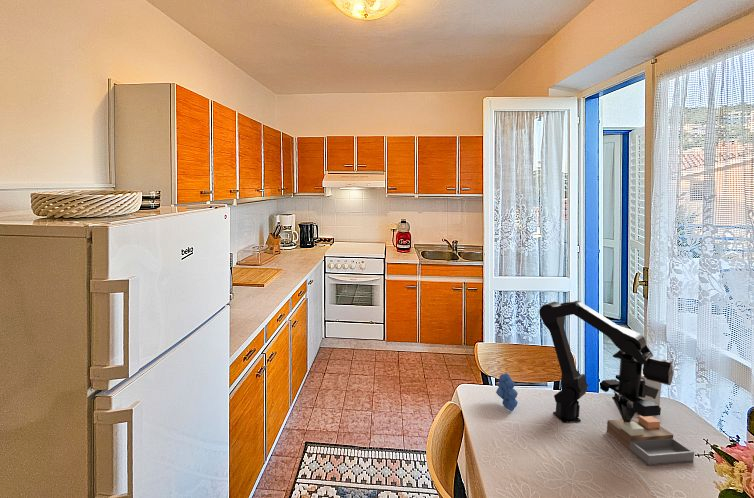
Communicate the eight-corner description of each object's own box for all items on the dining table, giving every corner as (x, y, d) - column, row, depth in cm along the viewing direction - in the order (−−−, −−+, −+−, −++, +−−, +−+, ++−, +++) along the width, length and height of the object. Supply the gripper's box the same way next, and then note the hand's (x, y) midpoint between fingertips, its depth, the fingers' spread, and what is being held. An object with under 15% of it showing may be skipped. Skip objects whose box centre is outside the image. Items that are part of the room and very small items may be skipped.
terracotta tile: (647, 428, 129) (648, 422, 129) (638, 421, 133) (638, 415, 132) (659, 427, 129) (660, 421, 129) (649, 421, 133) (650, 415, 133)
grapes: (488, 400, 154) (489, 369, 153) (505, 399, 156) (507, 368, 154) (502, 416, 143) (504, 382, 142) (521, 415, 144) (523, 381, 143)
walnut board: (629, 450, 124) (630, 437, 124) (606, 432, 134) (607, 420, 133) (672, 447, 126) (673, 434, 125) (646, 429, 136) (647, 417, 135)
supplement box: (659, 412, 147) (662, 377, 145) (636, 410, 148) (639, 375, 147) (650, 402, 154) (653, 369, 152) (628, 400, 155) (630, 367, 154)
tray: (648, 466, 117) (649, 455, 117) (629, 450, 124) (630, 441, 124) (693, 462, 119) (694, 452, 118) (672, 447, 126) (673, 437, 126)
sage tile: (631, 435, 125) (631, 429, 124) (621, 428, 129) (622, 422, 128) (643, 434, 125) (643, 428, 125) (633, 427, 129) (633, 421, 129)
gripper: (680, 386, 120) (675, 438, 121) (631, 361, 138) (628, 406, 140) (644, 388, 118) (640, 441, 120) (600, 363, 136) (597, 409, 138)
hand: (626, 423), depth 130 cm, fingers closed
